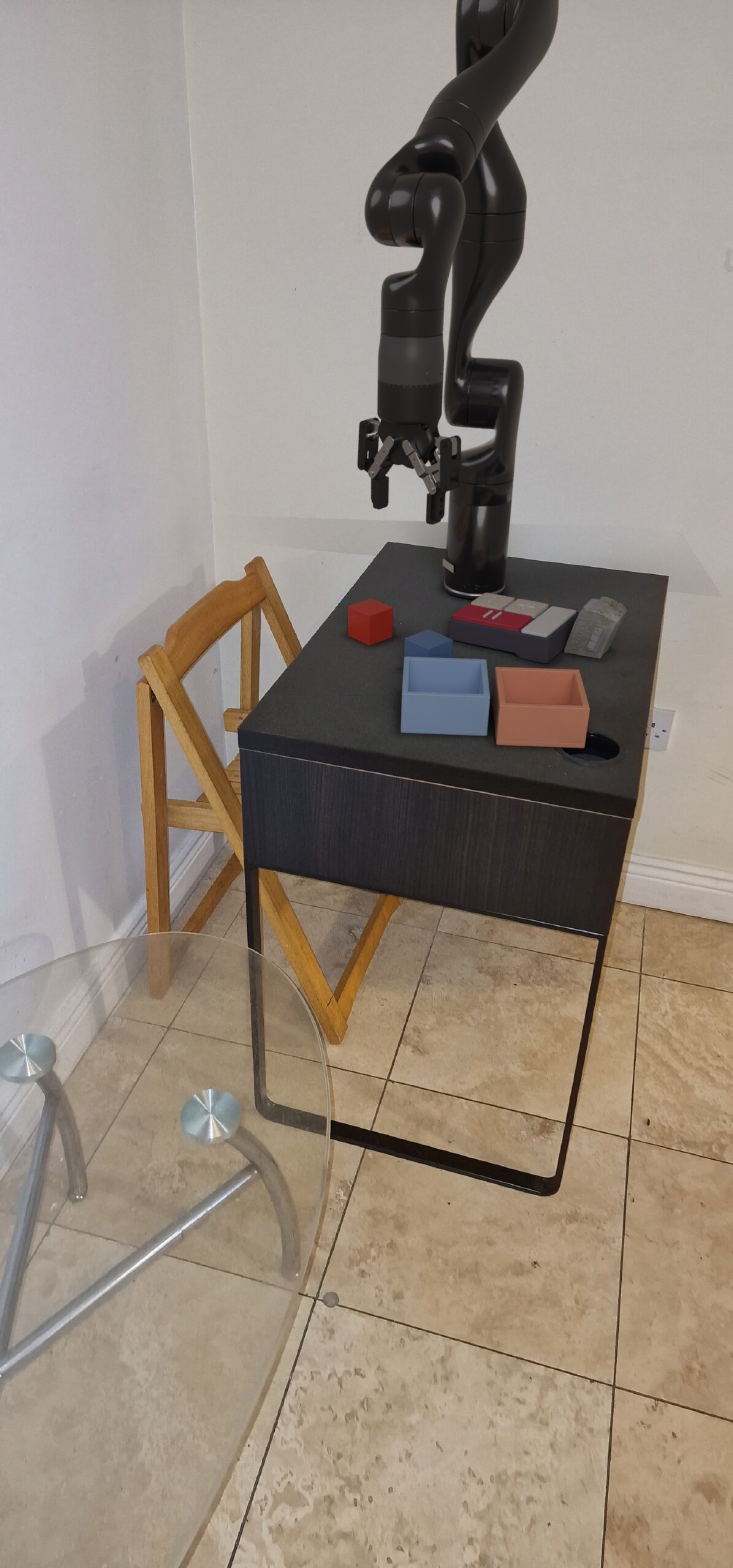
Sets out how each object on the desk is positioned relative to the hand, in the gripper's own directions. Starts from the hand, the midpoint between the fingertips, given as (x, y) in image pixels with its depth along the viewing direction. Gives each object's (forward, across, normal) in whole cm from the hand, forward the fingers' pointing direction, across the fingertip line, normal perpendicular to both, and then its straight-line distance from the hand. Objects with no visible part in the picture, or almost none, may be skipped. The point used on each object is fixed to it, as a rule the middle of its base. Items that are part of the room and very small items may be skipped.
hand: (406, 515), depth 125 cm
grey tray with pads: (+20, -7, -16) cm, 26 cm away
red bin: (+19, -23, +3) cm, 31 cm away
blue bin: (+19, -14, +8) cm, 25 cm away
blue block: (+20, -4, 0) cm, 20 cm away
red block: (+20, +8, -2) cm, 21 cm away
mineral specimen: (+20, -18, -19) cm, 33 cm away
